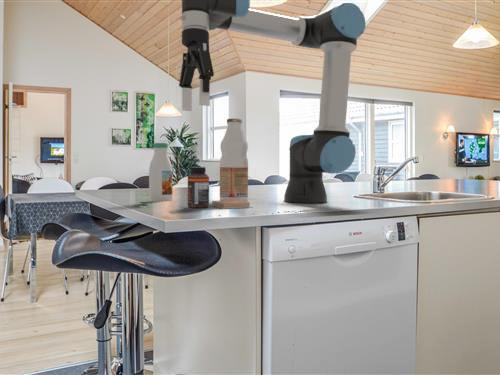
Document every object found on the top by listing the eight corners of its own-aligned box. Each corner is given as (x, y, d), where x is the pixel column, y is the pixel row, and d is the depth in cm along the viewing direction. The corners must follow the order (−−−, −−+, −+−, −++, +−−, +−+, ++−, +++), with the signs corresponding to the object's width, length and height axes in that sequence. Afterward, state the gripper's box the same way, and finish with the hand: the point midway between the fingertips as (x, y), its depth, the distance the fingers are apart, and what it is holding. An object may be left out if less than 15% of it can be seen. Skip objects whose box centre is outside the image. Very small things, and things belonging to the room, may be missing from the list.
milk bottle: (153, 203, 144) (153, 142, 143) (146, 202, 150) (145, 143, 149) (175, 203, 148) (175, 143, 147) (167, 201, 154) (167, 143, 153)
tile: (236, 199, 132) (249, 202, 125) (236, 205, 132) (249, 207, 125) (212, 200, 128) (223, 203, 121) (212, 206, 128) (223, 208, 121)
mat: (233, 206, 136) (233, 203, 136) (253, 211, 125) (253, 207, 125) (177, 209, 128) (177, 205, 128) (193, 214, 116) (193, 210, 116)
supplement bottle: (185, 206, 125) (184, 166, 124) (205, 206, 127) (205, 166, 127) (190, 208, 120) (190, 167, 119) (211, 208, 122) (211, 167, 121)
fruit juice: (216, 204, 144) (216, 117, 142) (224, 202, 153) (224, 120, 152) (244, 205, 142) (244, 117, 140) (250, 202, 151) (251, 120, 149)
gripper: (168, 39, 132) (168, 111, 133) (199, 15, 110) (199, 101, 111) (192, 43, 135) (192, 113, 136) (226, 20, 113) (226, 103, 114)
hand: (195, 108), depth 124 cm, fingers open, 13 cm apart
